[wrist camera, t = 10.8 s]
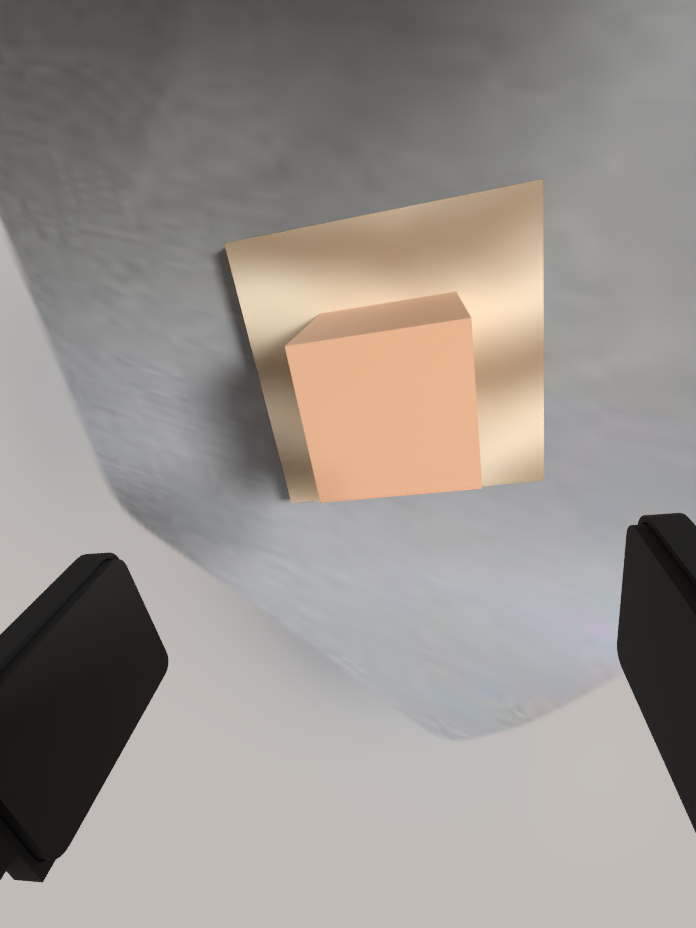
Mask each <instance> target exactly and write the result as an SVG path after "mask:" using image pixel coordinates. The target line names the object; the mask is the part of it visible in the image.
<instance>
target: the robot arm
mask: <svg viewBox="0 0 696 928" xmlns="http://www.w3.org/2000/svg"><path fill="white" fill-rule="evenodd" d="M617 651H618V657H619V661H620V664H621V667H622V669H623V671H624V674H625V676H626V678H627V680H628V682H629V685H630V687H631V689H632V691H633V694H634V696H635V698H636V700H637V703H638V705H639V707H640V709H641V712H642V713H643V716H644V718H645V720H646V723H647V725H648V727H649V729H650V731H651V734H652V736H653V738H654V741H655V743H656V745H657V747H658V749H659V752H660V754H661V756H662V758H663V760H664V762H665V765H666V767H667V769H668V772H669V774H670V776H671V778H672V781H673V783H674V785H675V787H676V790H677V792H678V794H679V796H680V799H681V800H682V803H683V805H684V807H685V810H686V812H687V814H688V816H689V818H690V821H691V823H692V825H693V828H694V830H695V832H696V526H695V524H694V523H693V522H692V521H691V520H690V519H689V518H688V517H687V516H686V515H685V514H682V513H672V514H658V515H644V516H642V517H641V518H640V519H639V522H638V525H630V526H629V527H628V529H627V535H626V547H625V558H624V570H623V581H622V593H621V604H620V616H619V627H618V639H617ZM167 667H168V655H167V653H166V650H165V648H164V646H163V644H162V641H161V639H160V637H159V635H158V633H157V631H156V628H155V626H154V624H153V622H152V620H151V618H150V615H149V613H148V611H147V609H146V607H145V605H144V602H143V600H142V598H141V596H140V594H139V592H138V590H137V587H136V585H135V583H134V581H133V579H132V576H131V574H130V572H129V570H128V568H127V566H126V564H125V563H124V562H123V561H122V560H119V558H118V557H117V556H116V555H115V554H113V553H98V554H85V555H82V556H80V557H79V558H78V559H76V560H75V561H74V562H73V563H72V564H71V565H70V566H69V567H68V568H67V569H66V570H65V571H64V572H63V573H62V574H61V575H60V576H59V577H58V578H57V579H56V580H55V581H54V582H53V583H52V584H51V585H50V586H49V587H48V588H47V589H46V590H45V591H44V592H43V593H42V594H41V595H40V596H39V597H38V598H37V599H36V600H35V601H34V602H33V603H32V604H31V605H30V606H29V607H28V608H27V609H26V610H25V611H24V612H23V613H22V614H21V615H20V616H19V617H18V618H17V619H16V620H15V621H14V622H13V623H12V624H11V625H10V626H9V627H8V628H7V629H6V630H5V631H4V632H3V633H2V634H1V635H0V880H1V878H2V877H3V875H4V873H5V872H6V871H7V872H8V873H9V874H10V876H11V877H12V878H13V879H14V880H23V881H34V882H43V881H44V879H45V877H46V875H47V874H48V872H49V870H50V868H51V867H52V865H53V863H54V861H55V860H56V859H57V858H59V857H60V856H61V855H62V854H63V853H64V852H65V851H66V850H67V848H68V847H69V845H70V843H71V841H72V840H73V838H74V836H75V834H76V833H77V831H78V829H79V827H80V825H81V823H82V822H83V820H84V818H85V817H86V815H87V813H88V811H89V809H90V808H91V806H92V804H93V802H94V800H95V799H96V796H97V795H98V793H99V792H100V789H101V788H102V786H103V784H104V783H105V781H106V779H107V777H108V775H109V774H110V772H111V770H112V768H113V767H114V765H115V763H116V761H117V759H118V758H119V756H120V754H121V752H122V750H123V748H124V747H125V745H126V743H127V742H128V740H129V738H130V736H131V734H132V733H133V731H134V729H135V727H136V725H137V723H138V722H139V720H140V718H141V716H142V715H143V713H144V711H145V709H146V707H147V706H148V704H149V702H150V700H151V698H152V697H153V695H154V693H155V692H156V690H157V688H158V686H159V684H160V682H161V681H162V679H163V677H164V675H165V673H166V671H167Z"/></svg>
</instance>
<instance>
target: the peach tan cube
mask: <svg viewBox="0 0 696 928" xmlns="http://www.w3.org/2000/svg"><path fill="white" fill-rule="evenodd" d="M285 350H286V354H287V359H288V363H289V367H290V372H291V376H292V381H293V385H294V389H295V394H296V398H297V402H298V407H299V411H300V416H301V420H302V424H303V429H304V433H305V437H306V442H307V446H308V451H309V455H310V459H311V464H312V468H313V473H314V477H315V481H316V486H317V490H318V494H319V499H320V503H322V502H333V501H345V500H356V499H368V498H379V497H391V496H402V495H414V494H425V493H437V492H448V491H460V490H471V489H482V476H481V460H480V445H479V429H478V414H477V398H476V382H475V367H474V351H473V336H472V320H471V316H470V315H469V313H468V311H467V309H466V308H465V306H464V304H463V302H462V301H461V299H460V297H459V295H458V294H457V292H456V291H455V292H449V293H443V294H437V295H431V296H424V297H418V298H412V299H406V300H400V301H394V302H388V303H382V304H376V305H370V306H364V307H357V308H351V309H345V310H339V311H333V312H327V313H321V314H319V315H318V316H317V317H316V318H315V319H314V320H313V321H312V322H311V323H310V324H308V325H307V326H306V327H305V328H304V329H303V330H302V331H301V332H300V333H299V334H298V335H296V336H295V337H294V338H293V339H292V340H291V341H290V342H289V343H288V344H287V345H286V346H285Z"/></svg>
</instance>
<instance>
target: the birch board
mask: <svg viewBox="0 0 696 928" xmlns="http://www.w3.org/2000/svg"><path fill="white" fill-rule="evenodd" d="M224 244H225V248H226V252H227V256H228V260H229V264H230V267H231V271H232V275H233V279H234V283H235V287H236V291H237V295H238V298H239V302H240V306H241V310H242V314H243V318H244V322H245V326H246V329H247V333H248V337H249V341H250V345H251V349H252V353H253V356H254V360H255V364H256V368H257V372H258V376H259V380H260V384H261V387H262V391H263V395H264V399H265V403H266V407H267V411H268V415H269V418H270V422H271V426H272V430H273V434H274V438H275V442H276V446H277V449H278V453H279V457H280V461H281V465H282V469H283V473H284V476H285V480H286V484H287V488H288V492H289V496H290V500H291V503H297V502H309V501H320V499H319V494H318V490H317V486H316V481H315V477H314V473H313V468H312V464H311V459H310V455H309V451H308V446H307V442H306V437H305V433H304V429H303V424H302V420H301V416H300V411H299V407H298V402H297V398H296V394H295V389H294V385H293V381H292V376H291V372H290V367H289V363H288V359H287V354H286V350H285V346H286V345H287V344H288V343H289V342H290V341H291V340H292V339H293V338H294V337H295V336H296V335H298V334H299V333H300V332H301V331H302V330H303V329H304V328H305V327H306V326H307V325H308V324H310V323H311V322H312V321H313V320H314V319H315V318H316V317H317V316H318V315H319V314H321V313H327V312H333V311H339V310H345V309H351V308H357V307H364V306H370V305H376V304H382V303H388V302H394V301H400V300H406V299H412V298H418V297H424V296H431V295H437V294H443V293H449V292H455V291H456V292H457V294H458V295H459V297H460V299H461V301H462V302H463V304H464V306H465V308H466V309H467V311H468V313H469V315H470V316H471V320H472V336H473V351H474V367H475V382H476V398H477V414H478V429H479V445H480V460H481V476H482V486H490V485H501V484H512V483H523V482H535V481H544V318H543V179H542V180H537V181H532V182H527V183H522V184H517V185H512V186H507V187H502V188H497V189H492V190H487V191H482V192H477V193H472V194H467V195H462V196H457V197H452V198H447V199H442V200H437V201H432V202H427V203H422V204H418V205H413V206H408V207H403V208H398V209H393V210H388V211H383V212H378V213H373V214H368V215H363V216H358V217H353V218H348V219H343V220H338V221H333V222H328V223H323V224H318V225H313V226H308V227H303V228H298V229H293V230H288V231H283V232H278V233H273V234H268V235H264V236H259V237H254V238H249V239H244V240H239V241H234V242H229V243H224Z"/></svg>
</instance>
